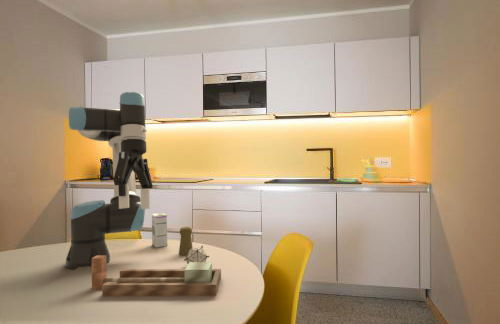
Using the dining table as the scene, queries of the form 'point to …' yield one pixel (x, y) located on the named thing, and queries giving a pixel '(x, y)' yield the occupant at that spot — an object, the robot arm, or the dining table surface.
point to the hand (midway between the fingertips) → (135, 208)
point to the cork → (185, 240)
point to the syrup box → (159, 229)
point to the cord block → (193, 274)
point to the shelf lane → (160, 284)
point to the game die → (196, 255)
